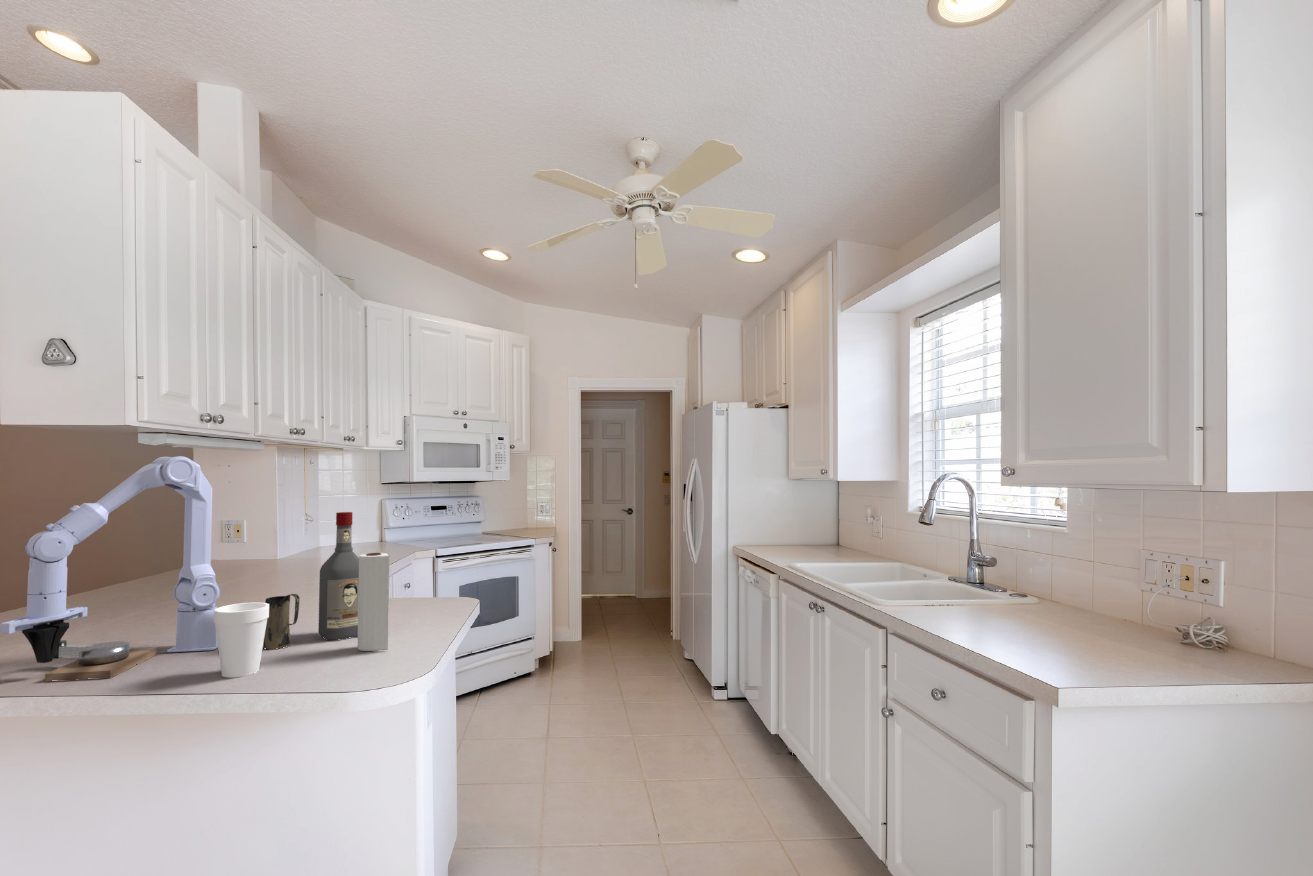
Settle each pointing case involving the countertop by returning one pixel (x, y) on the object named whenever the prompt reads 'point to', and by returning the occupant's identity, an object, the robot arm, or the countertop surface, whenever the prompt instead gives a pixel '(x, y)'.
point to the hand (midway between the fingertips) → (44, 661)
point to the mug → (279, 621)
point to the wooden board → (100, 667)
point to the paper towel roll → (373, 602)
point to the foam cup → (240, 637)
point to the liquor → (340, 586)
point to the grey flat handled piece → (93, 652)
